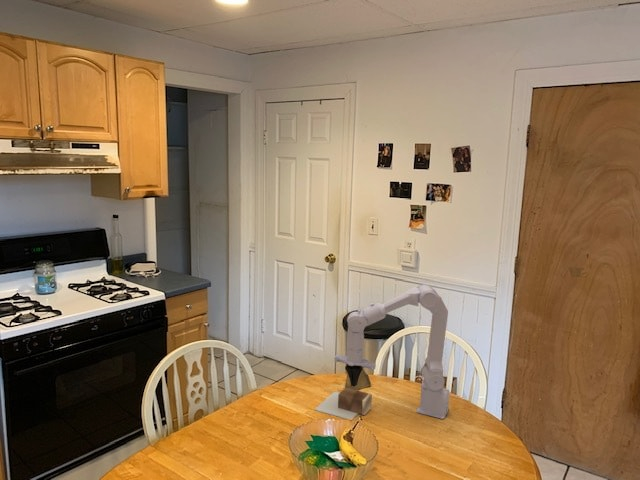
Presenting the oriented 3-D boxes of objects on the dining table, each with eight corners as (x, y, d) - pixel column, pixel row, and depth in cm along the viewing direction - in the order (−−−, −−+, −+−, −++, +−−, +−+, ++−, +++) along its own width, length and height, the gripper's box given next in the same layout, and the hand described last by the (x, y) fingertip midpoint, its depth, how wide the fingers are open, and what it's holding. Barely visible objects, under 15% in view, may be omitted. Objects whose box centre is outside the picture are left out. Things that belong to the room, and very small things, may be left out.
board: (369, 400, 173) (369, 400, 173) (351, 420, 159) (351, 419, 159) (334, 392, 179) (334, 391, 179) (314, 410, 165) (314, 409, 165)
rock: (372, 375, 189) (347, 370, 190) (375, 364, 183) (349, 359, 184) (368, 401, 182) (342, 395, 183) (371, 390, 176) (344, 384, 177)
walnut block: (371, 394, 167) (345, 387, 171) (365, 401, 161) (338, 394, 166) (371, 407, 167) (345, 400, 172) (364, 415, 162) (337, 407, 167)
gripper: (331, 347, 164) (330, 384, 166) (370, 355, 157) (369, 394, 159) (339, 340, 170) (338, 377, 172) (378, 348, 164) (376, 386, 165)
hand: (354, 385), depth 166 cm, fingers closed
